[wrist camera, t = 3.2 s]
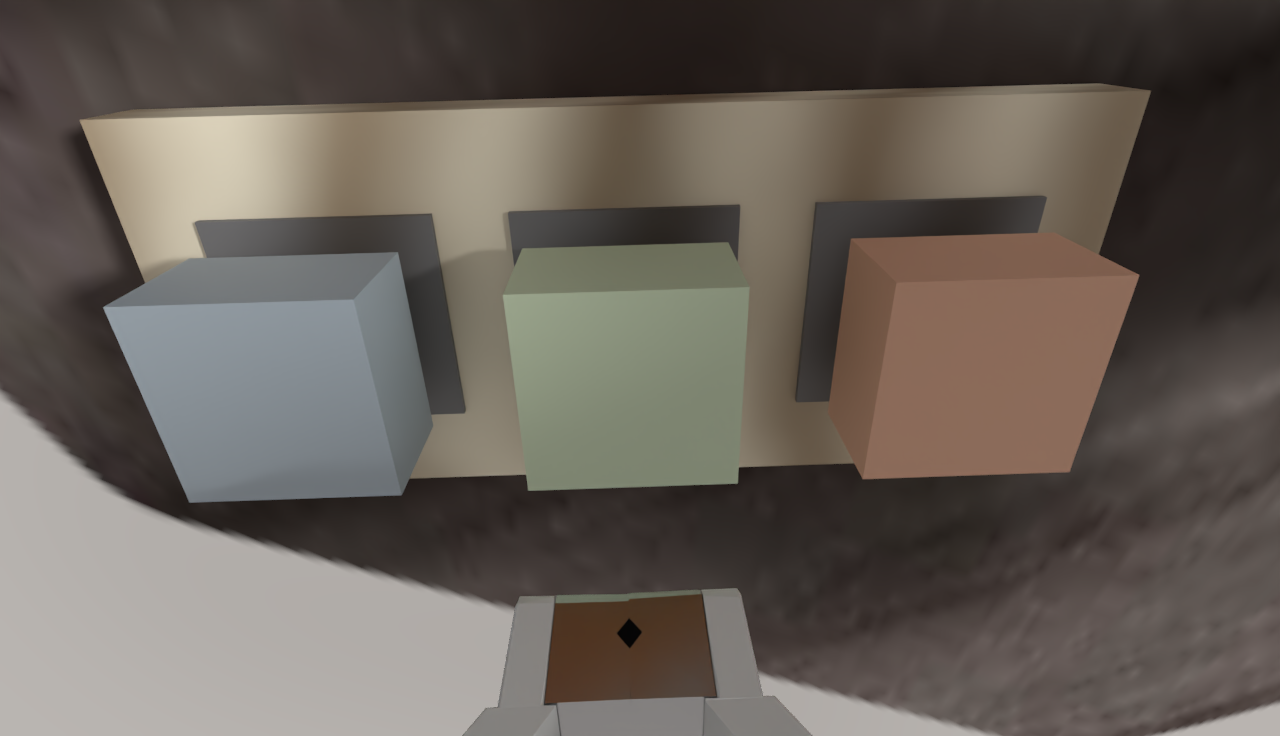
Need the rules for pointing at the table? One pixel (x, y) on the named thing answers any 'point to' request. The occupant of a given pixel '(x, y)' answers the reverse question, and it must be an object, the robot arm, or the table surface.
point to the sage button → (628, 364)
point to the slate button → (280, 374)
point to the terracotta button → (972, 352)
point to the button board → (618, 211)
